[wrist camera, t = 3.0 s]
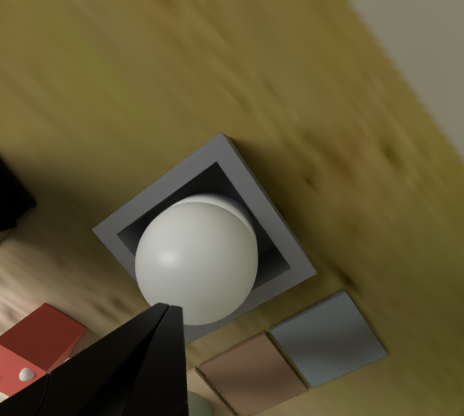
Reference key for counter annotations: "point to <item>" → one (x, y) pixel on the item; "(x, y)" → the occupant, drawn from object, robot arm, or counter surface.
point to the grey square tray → (233, 185)
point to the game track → (298, 349)
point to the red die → (36, 347)
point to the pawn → (198, 405)
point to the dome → (199, 257)
